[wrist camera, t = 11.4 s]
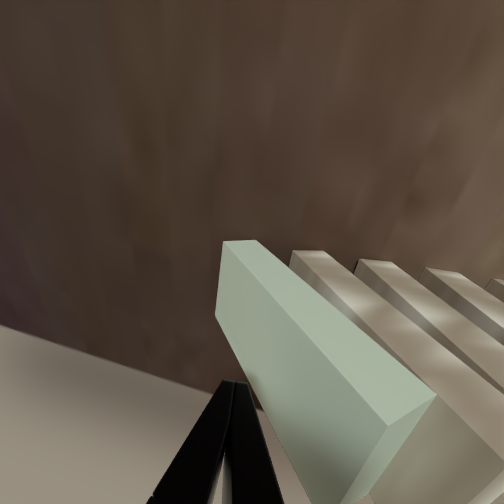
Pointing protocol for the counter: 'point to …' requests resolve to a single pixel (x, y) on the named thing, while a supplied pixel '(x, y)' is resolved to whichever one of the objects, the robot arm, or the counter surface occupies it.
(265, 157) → the counter surface
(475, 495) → the domino
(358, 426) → the domino
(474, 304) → the domino
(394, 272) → the domino
